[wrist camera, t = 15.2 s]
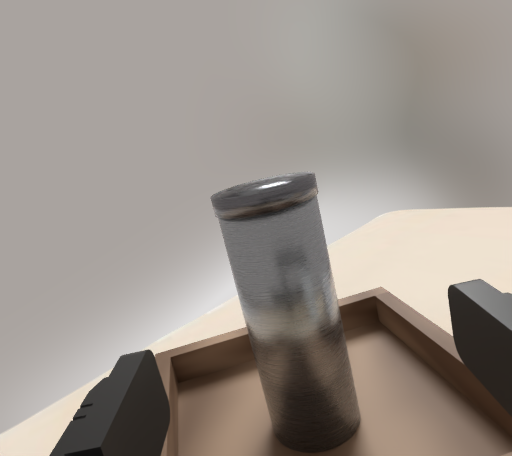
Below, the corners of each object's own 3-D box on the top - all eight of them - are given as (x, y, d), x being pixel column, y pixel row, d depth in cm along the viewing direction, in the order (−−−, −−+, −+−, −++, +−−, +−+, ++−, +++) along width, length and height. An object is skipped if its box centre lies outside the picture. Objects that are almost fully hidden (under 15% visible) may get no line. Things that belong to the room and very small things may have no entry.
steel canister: (350, 381, 23) (307, 168, 20) (374, 442, 18) (322, 179, 16) (269, 399, 23) (215, 189, 20) (273, 463, 19) (205, 206, 16)
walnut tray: (386, 318, 30) (381, 286, 29) (611, 506, 14) (609, 445, 14) (165, 387, 28) (155, 354, 27) (149, 691, 12) (125, 629, 12)
